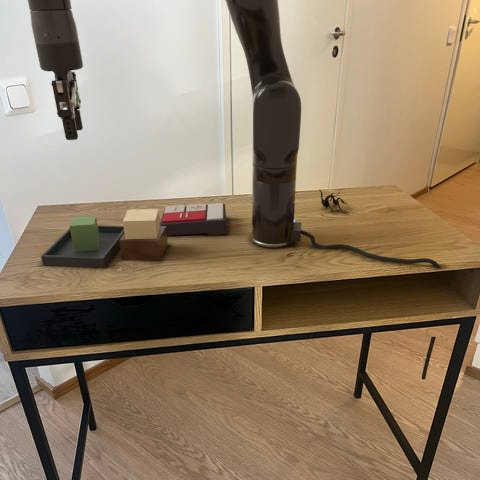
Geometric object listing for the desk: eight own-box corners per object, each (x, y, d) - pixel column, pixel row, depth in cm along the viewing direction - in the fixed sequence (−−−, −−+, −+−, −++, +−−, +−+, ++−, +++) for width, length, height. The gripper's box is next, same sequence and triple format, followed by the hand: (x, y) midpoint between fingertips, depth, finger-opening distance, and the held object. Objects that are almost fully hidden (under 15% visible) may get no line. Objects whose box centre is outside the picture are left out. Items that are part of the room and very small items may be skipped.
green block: (100, 241, 112) (96, 215, 109) (98, 250, 108) (93, 224, 105) (77, 242, 111) (72, 217, 108) (74, 252, 107) (69, 225, 104)
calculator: (163, 204, 123) (224, 200, 123) (166, 221, 125) (226, 217, 125) (159, 221, 113) (224, 216, 113) (161, 238, 116) (226, 234, 116)
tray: (129, 234, 116) (128, 226, 115) (104, 267, 102) (103, 258, 101) (74, 232, 118) (73, 224, 117) (43, 265, 103) (40, 256, 102)
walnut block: (168, 245, 111) (166, 226, 109) (159, 261, 104) (157, 241, 102) (133, 244, 112) (130, 225, 110) (122, 259, 105) (119, 239, 103)
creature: (338, 206, 134) (312, 203, 131) (344, 187, 131) (318, 183, 128) (353, 217, 128) (325, 214, 125) (359, 196, 125) (332, 193, 122)
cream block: (160, 226, 109) (158, 209, 106) (157, 238, 103) (155, 220, 101) (130, 227, 108) (128, 209, 106) (125, 239, 103) (122, 221, 101)
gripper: (73, 41, 84) (91, 142, 92) (82, 36, 95) (97, 126, 104) (27, 43, 83) (49, 144, 91) (41, 38, 94) (60, 128, 103)
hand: (75, 134), depth 98 cm, fingers open, 8 cm apart
